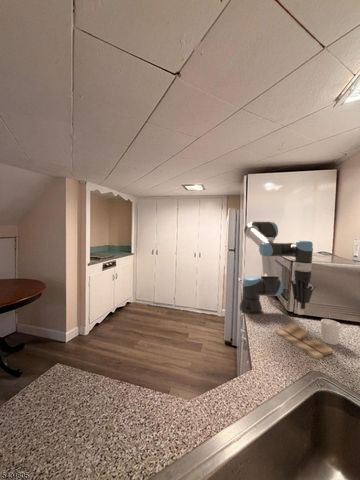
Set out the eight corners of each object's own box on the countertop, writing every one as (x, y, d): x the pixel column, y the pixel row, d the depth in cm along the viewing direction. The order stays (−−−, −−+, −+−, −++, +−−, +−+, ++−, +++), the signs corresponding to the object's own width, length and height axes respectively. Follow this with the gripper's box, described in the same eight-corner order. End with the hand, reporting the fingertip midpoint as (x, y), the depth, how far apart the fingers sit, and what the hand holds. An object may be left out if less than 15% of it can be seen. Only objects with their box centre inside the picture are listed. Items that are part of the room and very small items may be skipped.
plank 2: (302, 342, 101) (302, 340, 101) (311, 340, 103) (311, 337, 103) (323, 355, 91) (323, 353, 91) (333, 352, 92) (333, 349, 92)
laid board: (275, 332, 112) (275, 330, 112) (282, 331, 113) (282, 329, 113) (315, 358, 89) (315, 355, 89) (323, 357, 90) (323, 354, 90)
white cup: (339, 347, 98) (340, 327, 98) (319, 342, 103) (320, 322, 102) (339, 340, 104) (340, 321, 104) (320, 335, 109) (321, 317, 109)
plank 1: (283, 330, 113) (282, 328, 112) (291, 324, 114) (290, 322, 114) (300, 340, 102) (299, 339, 102) (308, 333, 103) (307, 331, 103)
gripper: (287, 268, 112) (285, 309, 113) (308, 273, 100) (305, 320, 101) (298, 267, 114) (295, 308, 116) (319, 272, 102) (317, 318, 103)
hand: (300, 314), depth 108 cm, fingers closed
